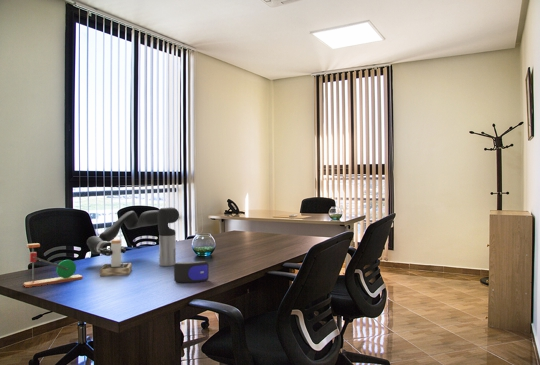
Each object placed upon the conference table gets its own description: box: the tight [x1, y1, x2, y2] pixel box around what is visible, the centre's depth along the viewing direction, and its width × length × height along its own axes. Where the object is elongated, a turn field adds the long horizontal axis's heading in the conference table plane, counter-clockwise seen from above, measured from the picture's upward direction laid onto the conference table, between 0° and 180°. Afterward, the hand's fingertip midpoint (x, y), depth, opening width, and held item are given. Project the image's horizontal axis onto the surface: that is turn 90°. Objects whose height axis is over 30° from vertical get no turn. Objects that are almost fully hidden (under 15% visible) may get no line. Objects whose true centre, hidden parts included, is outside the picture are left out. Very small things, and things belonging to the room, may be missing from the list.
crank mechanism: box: [23, 242, 84, 288], centre depth 195 cm, size 25×7×19 cm, turn 134°
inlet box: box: [99, 262, 133, 277], centre depth 215 cm, size 14×14×4 cm
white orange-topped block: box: [110, 238, 122, 267], centre depth 215 cm, size 4×4×15 cm
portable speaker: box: [173, 260, 210, 284], centre depth 193 cm, size 16×5×9 cm, turn 103°
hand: (118, 251), depth 214 cm, fingers closed on white orange-topped block, 6 cm apart
